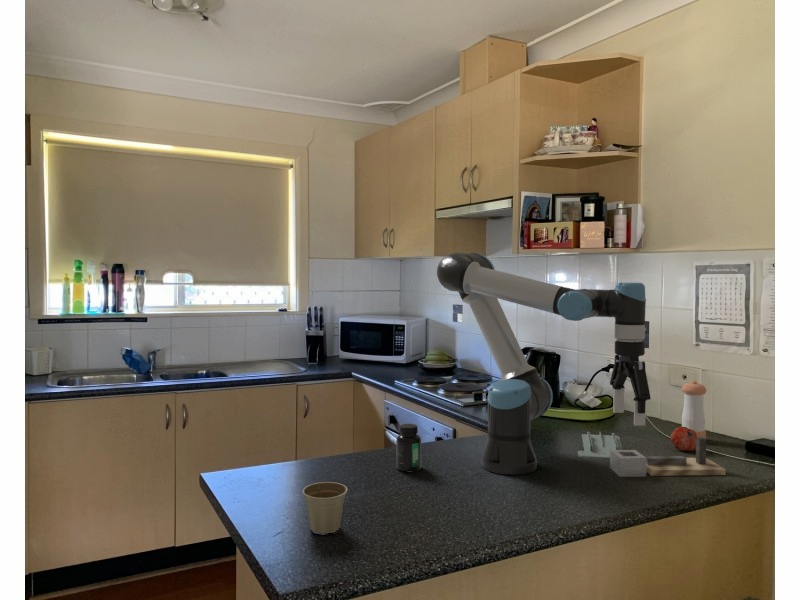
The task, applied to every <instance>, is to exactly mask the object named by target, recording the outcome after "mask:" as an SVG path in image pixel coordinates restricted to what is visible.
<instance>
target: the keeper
mask: <svg viewBox="0 0 800 600" xmlns="http://www.w3.org/2000/svg"><path fill="white" fill-rule="evenodd" d="M644 456H645V455H644ZM645 457H646V458H647V462H646V474H648V475H650V476H651V477H653V476H654V477H657V476H658V477H659V476H661V477H662V476H666V477H667V476H726V473H727V472H726V471H727V470H726V468H725V467H723V466H720V465H719V464H717V463H715V462H714V461H713V460H710V459H709V458H707V438H706V439H705V438H703V437H696V449H695V457H685V456H684V455H670V456H669V455H658V456H656V455H654V456H653V455H651V456H650V455H649V456H648V455H647V456H645Z"/></svg>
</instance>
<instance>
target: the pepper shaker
mask: <svg viewBox="0 0 800 600" xmlns="http://www.w3.org/2000/svg"><path fill="white" fill-rule="evenodd" d="M706 388H707V387H706V386H705V385H703V384H702V383H698V382H697V381H696V380H691V382H687V383H684V384H682V386H681V391H682V393H684V395H683V398H684V399H683V410H682V415H681V427H687V428H688V429H691V430H694V431H695V432H696V434H697V437H703V438H705V439H706V440H707V431H706V428H705V426H706V418H705V411H704V395H705V394H707V389H706Z"/></svg>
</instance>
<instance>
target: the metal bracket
mask: <svg viewBox="0 0 800 600" xmlns="http://www.w3.org/2000/svg"><path fill="white" fill-rule="evenodd" d="M581 439H582V440H581V441H582V447H583V450H577V456H578V457H579V458H596V459H597V458H598V459H599V458H600V459H610V450H624V449H623V445H622V442H621V439H620V436H619V435H616V434H615V432H612V433H611V435H608V434H605V435H604V434H602V433H601V431H599V434H591V432H590V431H587V432H586V434H585V433H584V434H583V433H582V434H581Z"/></svg>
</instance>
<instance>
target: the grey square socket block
mask: <svg viewBox="0 0 800 600" xmlns="http://www.w3.org/2000/svg"><path fill="white" fill-rule="evenodd" d="M646 462H647V458H646V457H645V455H644V454H642V453H640V452H639V451H638V450H636V449H623V450H610V458H609V469H610V470H611V471H613V472H614V473H615V474H616V475H617V476H618V477H620V478H633V477H637V478H639V477H643V478H644V477H647V472H646Z"/></svg>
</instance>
